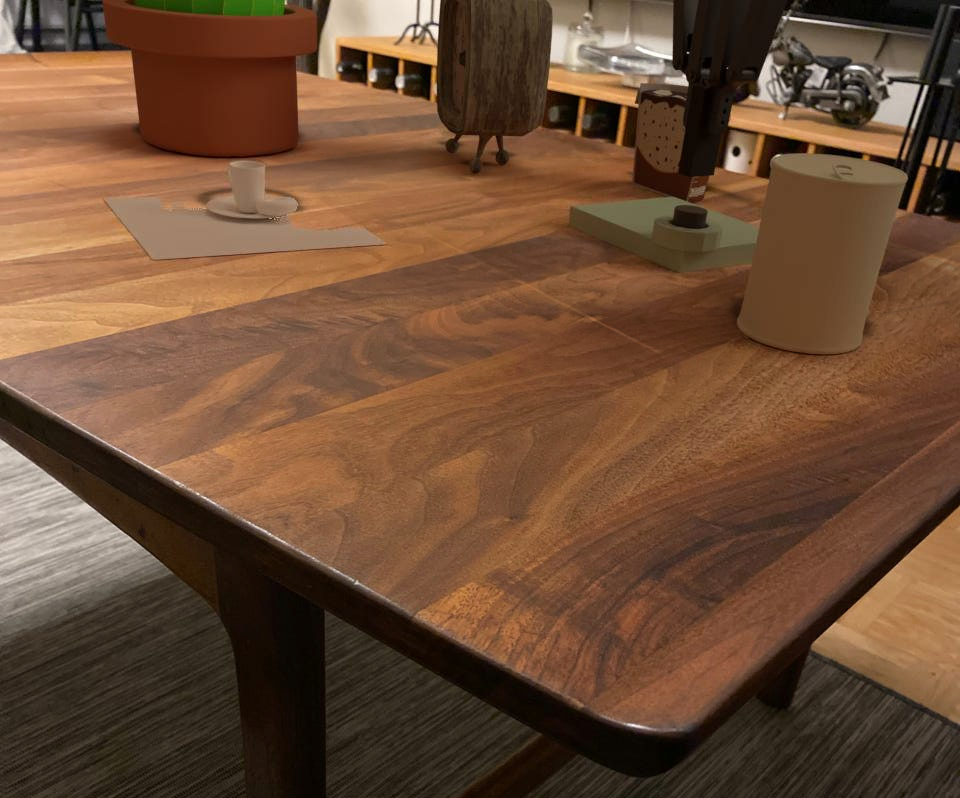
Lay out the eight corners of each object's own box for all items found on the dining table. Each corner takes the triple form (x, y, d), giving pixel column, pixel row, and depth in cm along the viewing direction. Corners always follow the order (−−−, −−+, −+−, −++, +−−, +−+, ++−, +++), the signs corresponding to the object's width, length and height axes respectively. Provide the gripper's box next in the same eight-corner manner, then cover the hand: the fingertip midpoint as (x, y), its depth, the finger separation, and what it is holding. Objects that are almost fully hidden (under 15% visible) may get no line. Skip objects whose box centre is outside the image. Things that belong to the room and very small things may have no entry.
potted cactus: (244, 119, 132) (229, -123, 117) (355, 151, 120) (354, -113, 106) (84, 132, 119) (46, -139, 104) (192, 171, 107) (165, -130, 92)
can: (740, 346, 74) (779, 166, 67) (732, 307, 81) (767, 140, 74) (871, 361, 73) (924, 180, 66) (851, 319, 81) (897, 153, 74)
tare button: (711, 230, 88) (714, 211, 87) (686, 233, 87) (690, 214, 86) (689, 222, 90) (692, 203, 89) (664, 225, 89) (668, 206, 88)
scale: (792, 262, 93) (802, 221, 91) (678, 278, 87) (686, 234, 85) (670, 216, 105) (676, 179, 103) (560, 227, 98) (564, 188, 96)
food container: (739, 204, 111) (760, 100, 105) (696, 208, 108) (715, 102, 103) (665, 178, 119) (680, 81, 114) (623, 181, 117) (637, 82, 111)
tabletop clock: (433, 150, 124) (443, -106, 109) (505, 152, 126) (524, -99, 111) (463, 178, 112) (479, -104, 98) (542, 179, 115) (568, -96, 100)
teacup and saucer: (309, 223, 93) (308, 174, 91) (222, 228, 90) (218, 178, 87) (279, 199, 99) (277, 153, 97) (196, 203, 96) (192, 156, 94)
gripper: (659, -193, 75) (612, 159, 88) (792, -195, 66) (716, 195, 80) (734, -182, 78) (677, 155, 92) (870, -182, 70) (784, 189, 83)
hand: (695, 173), depth 86 cm, fingers closed
